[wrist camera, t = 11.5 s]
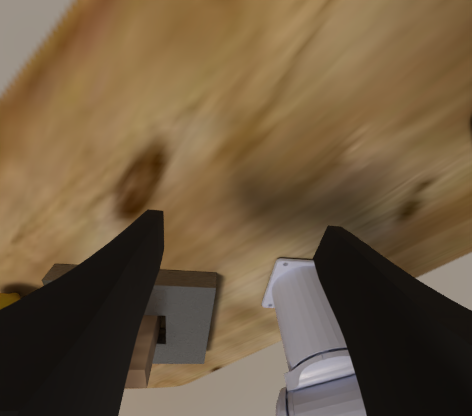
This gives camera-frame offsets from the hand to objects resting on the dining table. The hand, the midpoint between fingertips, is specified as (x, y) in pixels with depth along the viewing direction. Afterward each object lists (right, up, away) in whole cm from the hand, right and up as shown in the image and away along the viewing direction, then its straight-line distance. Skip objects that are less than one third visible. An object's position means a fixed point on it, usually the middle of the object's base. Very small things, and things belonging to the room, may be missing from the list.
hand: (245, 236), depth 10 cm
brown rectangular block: (-12, -11, +18) cm, 24 cm away
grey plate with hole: (-12, -12, +18) cm, 24 cm away
